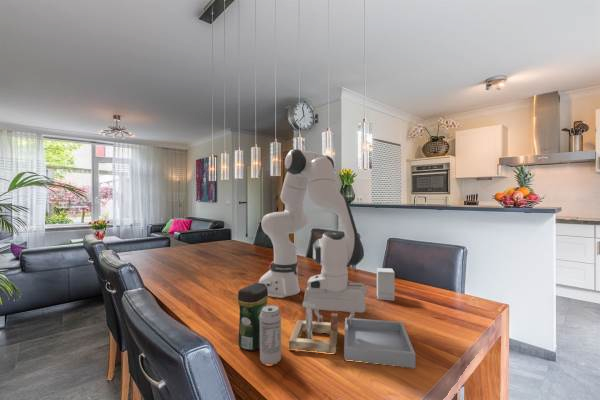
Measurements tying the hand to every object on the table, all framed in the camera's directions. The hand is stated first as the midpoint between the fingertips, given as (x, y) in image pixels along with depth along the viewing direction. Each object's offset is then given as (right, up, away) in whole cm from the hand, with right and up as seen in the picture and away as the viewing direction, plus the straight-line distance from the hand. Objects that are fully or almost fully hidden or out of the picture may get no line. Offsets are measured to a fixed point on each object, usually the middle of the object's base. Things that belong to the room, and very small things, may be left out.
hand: (334, 322), depth 91 cm
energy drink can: (-20, -5, -13) cm, 24 cm away
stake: (-9, -5, -5) cm, 11 cm away
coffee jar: (-26, -5, -4) cm, 27 cm away
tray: (+12, -5, -6) cm, 14 cm away
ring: (-7, -5, -2) cm, 8 cm away
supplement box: (+28, -4, +35) cm, 45 cm away
